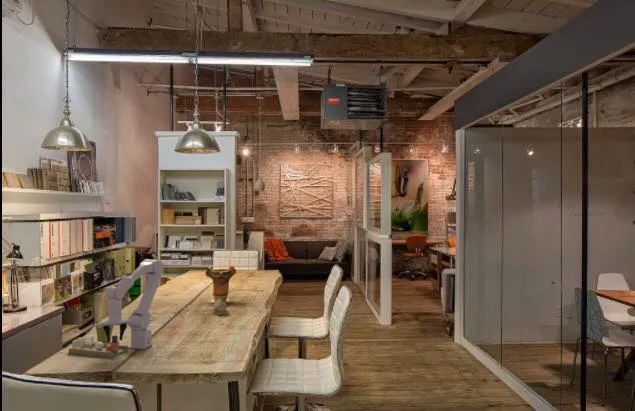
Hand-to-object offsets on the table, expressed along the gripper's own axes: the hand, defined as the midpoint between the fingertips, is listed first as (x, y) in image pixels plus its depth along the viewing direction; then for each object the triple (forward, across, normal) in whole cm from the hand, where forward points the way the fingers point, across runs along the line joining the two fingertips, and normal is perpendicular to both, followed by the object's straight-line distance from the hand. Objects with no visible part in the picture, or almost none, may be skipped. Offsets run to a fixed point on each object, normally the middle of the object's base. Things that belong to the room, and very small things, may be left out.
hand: (114, 340), depth 234 cm
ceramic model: (+7, -77, -65) cm, 101 cm away
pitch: (+6, +6, -6) cm, 11 cm away
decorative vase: (+6, -93, -103) cm, 139 cm away
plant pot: (+6, +1, -25) cm, 26 cm away
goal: (+5, +12, -13) cm, 18 cm away
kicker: (+5, 0, 0) cm, 5 cm away
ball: (+3, +6, -6) cm, 9 cm away
